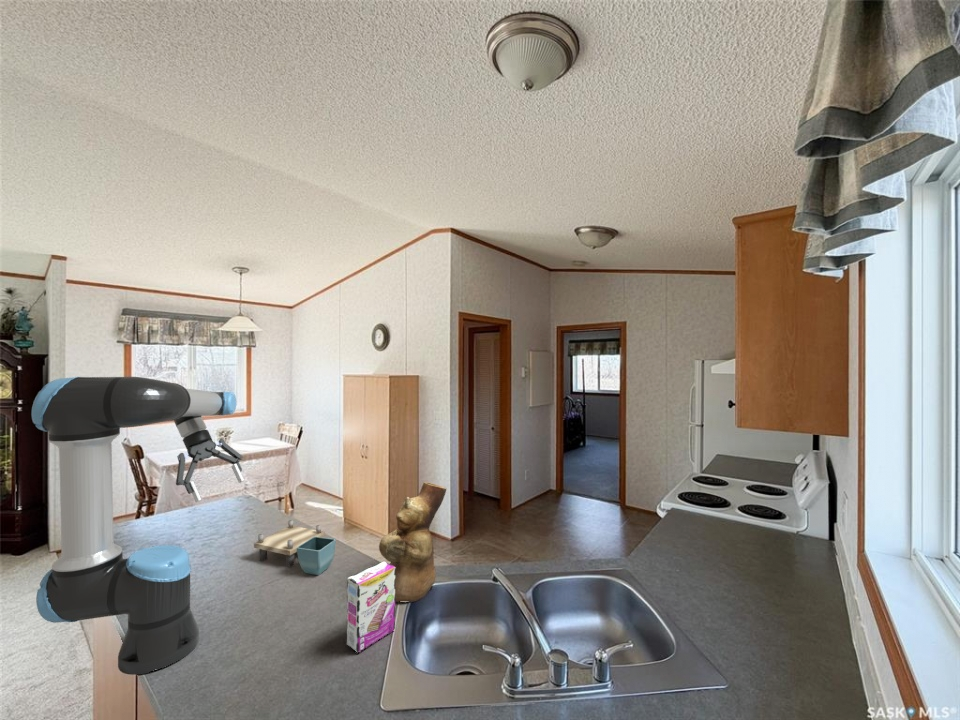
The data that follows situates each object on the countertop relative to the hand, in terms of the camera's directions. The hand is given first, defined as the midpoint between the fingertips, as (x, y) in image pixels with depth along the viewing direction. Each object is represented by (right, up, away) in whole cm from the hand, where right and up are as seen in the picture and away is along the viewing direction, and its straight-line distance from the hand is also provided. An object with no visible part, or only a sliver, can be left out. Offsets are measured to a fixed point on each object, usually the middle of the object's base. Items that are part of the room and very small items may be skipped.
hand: (221, 491), depth 138 cm
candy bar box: (+60, -25, -36) cm, 74 cm away
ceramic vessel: (+67, -25, -13) cm, 73 cm away
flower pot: (+33, -25, -4) cm, 42 cm away
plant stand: (+20, -24, +7) cm, 32 cm away
